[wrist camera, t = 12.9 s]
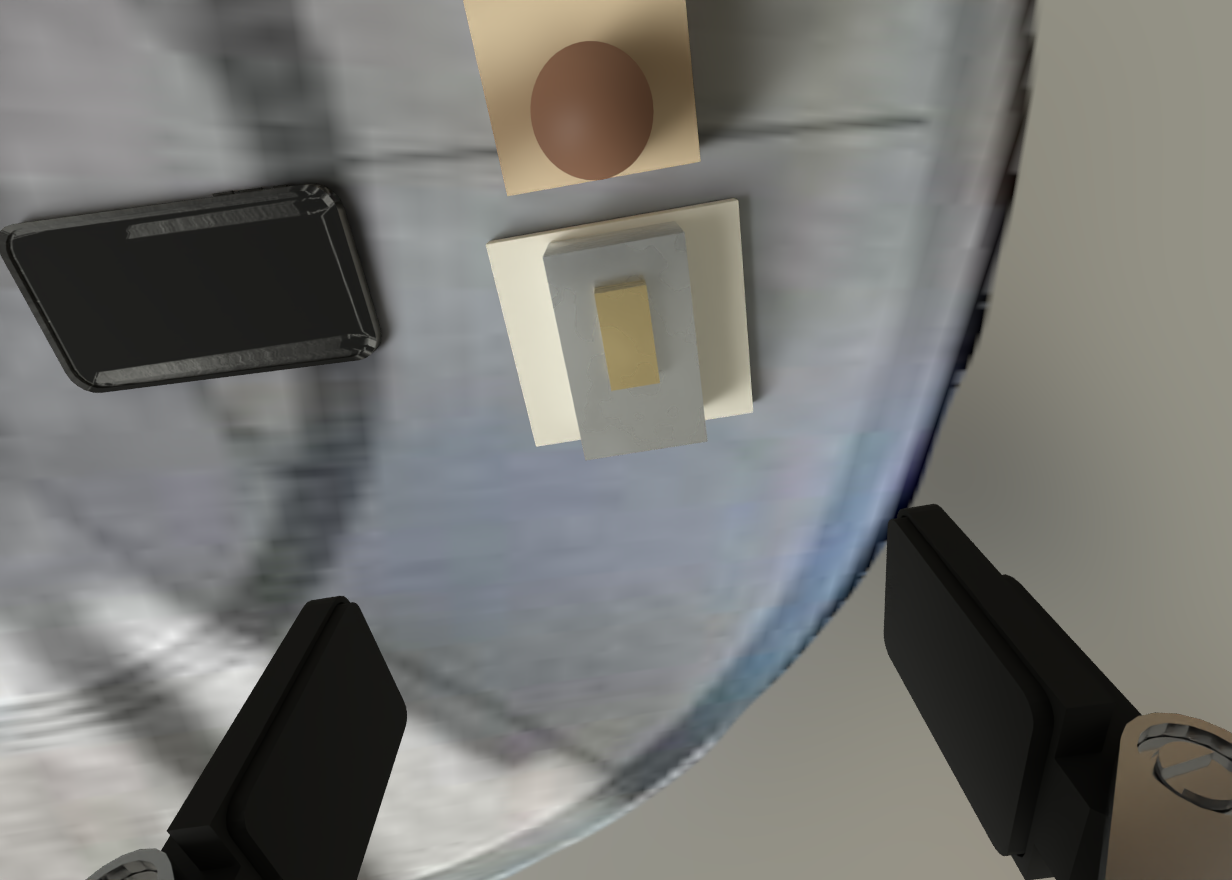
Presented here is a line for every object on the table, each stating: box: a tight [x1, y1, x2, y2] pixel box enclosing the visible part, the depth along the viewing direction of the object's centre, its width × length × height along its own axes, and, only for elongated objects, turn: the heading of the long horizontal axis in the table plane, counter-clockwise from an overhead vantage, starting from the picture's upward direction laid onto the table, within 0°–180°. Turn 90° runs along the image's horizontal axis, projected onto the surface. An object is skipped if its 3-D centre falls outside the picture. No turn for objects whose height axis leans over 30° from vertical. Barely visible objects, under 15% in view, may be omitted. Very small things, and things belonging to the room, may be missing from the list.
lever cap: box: [543, 221, 707, 460], centre depth 27 cm, size 9×6×4 cm, turn 9°
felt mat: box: [486, 198, 753, 447], centre depth 29 cm, size 10×11×1 cm
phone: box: [0, 184, 382, 393], centre depth 28 cm, size 8×1×15 cm
